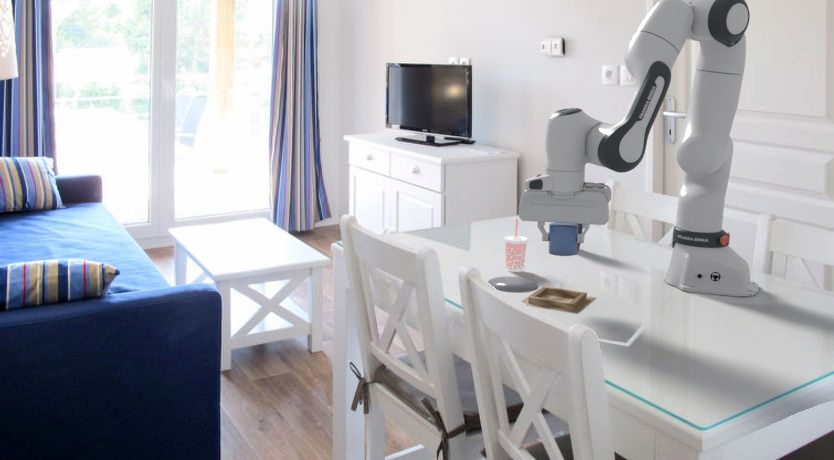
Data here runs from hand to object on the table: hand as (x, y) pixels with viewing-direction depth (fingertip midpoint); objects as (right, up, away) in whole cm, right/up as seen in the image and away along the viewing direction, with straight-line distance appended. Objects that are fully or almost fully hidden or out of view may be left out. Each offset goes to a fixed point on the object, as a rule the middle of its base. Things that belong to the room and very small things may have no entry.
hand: (563, 241), depth 202 cm
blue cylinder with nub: (+1, -2, +2) cm, 3 cm away
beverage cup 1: (-8, -8, +30) cm, 32 cm away
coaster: (-10, -11, +16) cm, 22 cm away
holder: (-1, -14, +3) cm, 15 cm away
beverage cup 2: (+12, -3, +55) cm, 57 cm away
